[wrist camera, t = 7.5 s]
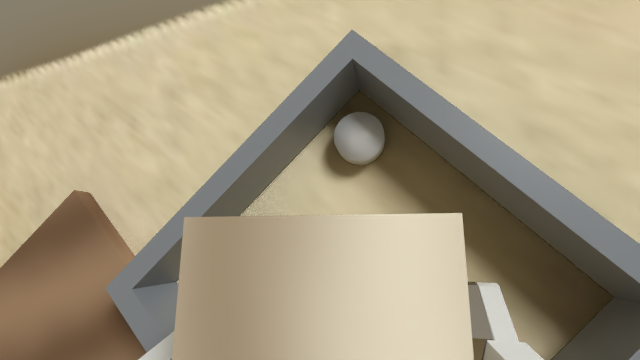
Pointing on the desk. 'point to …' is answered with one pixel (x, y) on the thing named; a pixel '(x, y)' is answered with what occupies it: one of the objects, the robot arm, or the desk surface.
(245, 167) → the parts tub
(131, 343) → the walnut board
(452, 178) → the desk surface
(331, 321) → the block
